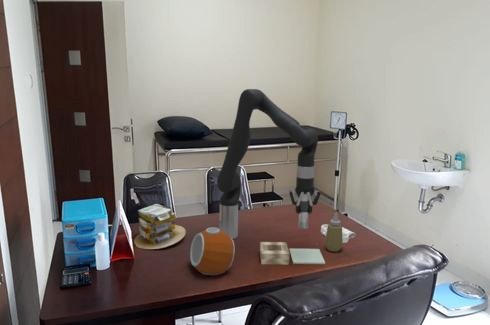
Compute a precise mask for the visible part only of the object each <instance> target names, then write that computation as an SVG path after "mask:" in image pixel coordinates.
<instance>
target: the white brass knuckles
mask: <svg viewBox="0 0 490 325" xmlns="http://www.w3.org/2000/svg"><path fill="white" fill-rule="evenodd" d="M328 225H329V224H322V225H321V227H320V233H321V234H322V235H324V236H325V237H326V234H327V228H328ZM355 237H356V233H355V232H353V231H351V230H349V229H347V228H345V227H343V226H342V240H343V244H345V243H348V242H349V239H354V238H355Z"/></svg>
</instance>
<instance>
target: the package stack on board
mask: <svg viewBox="0 0 490 325" xmlns="http://www.w3.org/2000/svg"><path fill="white" fill-rule="evenodd" d="M137 211H138V215H139V218H138V223H139V225H140V226H138V230H139V233H138V234H137V235H136V237H134V240H133V243H134V245H136V248H140V249H144V250H156V249H157V250H159V249H163V248H167V247H169V246H172V245H174V244H177V243H178V242H180V241H181V240H182V239H183V238H184V237H185V236H186V233H187V231H186V229H185V227H183V226H181V225H177V224H176V221H174V220H177V217H176V213H175V212H173V211H172V208H169V207H166V206H164V205H161V204H159V203H154V204H151V205H149V206H146V207H143V208H141V209H138V210H137Z"/></svg>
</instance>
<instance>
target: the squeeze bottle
mask: <svg viewBox="0 0 490 325" xmlns="http://www.w3.org/2000/svg"><path fill="white" fill-rule="evenodd" d="M327 225H328V228H327V234H326V236H325V240H324V243H325V246H326V249H327V250H328V251H329V252H332V253H333V252H335V253H337V252H340V250H341V248H342V246H343V244H344V243H343V240H342V227H343V226H342V224H341V220H339V216H338V213H337V212H334V215H333V218H331V219H330V223H328V224H327Z"/></svg>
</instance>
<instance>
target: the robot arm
mask: <svg viewBox="0 0 490 325" xmlns="http://www.w3.org/2000/svg"><path fill="white" fill-rule="evenodd" d="M255 110H258V111H260V112H262V113H264V114H265V115H267V116H268V117H269V119H270V120H271V121H272V122H273V124H274V125H275V126H276V127H277V128H279V130H282V131H283V132H284V133H285V134H286V135H288V136H289V137H290V138H291V140H292V141H293V142H294V143H295V144H296V145H298V146H299V147H301V150H300V151H299V152H298V155H297V166H296V167H297V168H296V175H295V176H296V183H295V185H296V186H295V188H294V190H290V189H289V190H288V193H289V197H290V200H291V203H292V205H295V212H296V213H297V215H299V207H300V206H299V204H300V202H301V199H302V196H303V194H304V193H307V196H308V200H309V212H308V215H311V214H312V212H313V206H316V205H318V202H319V198H320V197H321V194H322V193H321V191H320V190H316V189H315V188H314V187H315V155H316V151H317V147H318V142H319V137H318V133H317V131H316V130H315V129H313V128H307V129H304V128H302V127H301V126H300V122H299V121H298V120H297V119H295V118H294V117H292V115H290V114H288V113H287V112H286V111H284V110H283V109H281V108H280V106H278V105H277V104H275V103H274V101H272V100H271V99H270V97H268V96H267V95H266V94H265V93H264V92H263V91H262V90H260V89H257V88H246V89H244V90H243V91H242V92H241V93H240V96H239V100H238V105H237V111H236V116H235V120H234V124H233V127H232V132H231V135H230V139H229V142H228V146H227V149H226V153H225V157H224V161H223V163H222V165H221V169H220V170H219V174H218V176H217V179H216V186H217V189H218V190H219V191H220V192H222V195H221V196H220V198H219V219H218V220H219V221H218V222H219V223H218V229H219V230H221V231H223V232H225V233H227V234H228V235H229V236H230V238H232V240H234V239H237V238H238V234H239V230H238V228H239V200H240V198H241V187H242V186H241V185H242V181H241V177H240V174H239V173H238V172H236V171H237V168H238V166H239V165H240V163H241V162H242V161H243V158H244V157H245V155H246V153H247V152H248V149H249V145H250V141H251V128H250V124H251V123H250V122H251V117H252V114H253V111H255ZM295 194H296V195H297V198H296V200H295V198H294V196H295ZM313 195H315V196H314V199H313V201H312V196H313Z"/></svg>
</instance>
